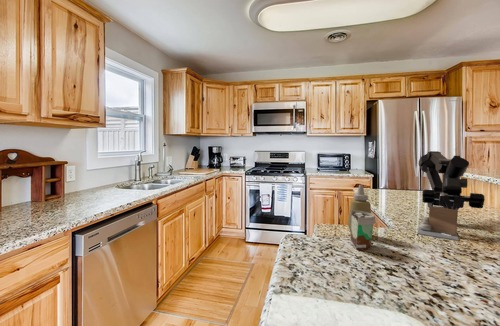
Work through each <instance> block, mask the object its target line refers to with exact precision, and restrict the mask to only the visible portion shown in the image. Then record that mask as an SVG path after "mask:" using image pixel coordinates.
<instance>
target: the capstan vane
mask: <svg viewBox="0 0 500 326" xmlns="http://www.w3.org/2000/svg"><path fill="white" fill-rule="evenodd" d="M428 209H429V210H428V211H429V212H428V217H427V216H424V217H423V222H419V226H420V229H423V230H434V231H439V232H444V233H449V234H453V235H456V234H457V233H458V218H459V217H458V215H459V213H458V212H459V209H458V210H453V209H446V208H439V207H432V206H430V207H428ZM457 235H458V234H457Z"/></svg>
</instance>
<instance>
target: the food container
mask: <svg viewBox="0 0 500 326" xmlns="http://www.w3.org/2000/svg"><path fill="white" fill-rule="evenodd" d="M375 224H376V217H375V215H374V214H373V213H372V212H371V213H367V212H363V211H356V210H351V233H350V242H351V243H352V245H353V247H354V249H355V250H356V251H368V250H371V246H372V240H373V239H372V238H373V237H372V236H373V229H374V225H375Z"/></svg>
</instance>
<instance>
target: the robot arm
mask: <svg viewBox="0 0 500 326" xmlns="http://www.w3.org/2000/svg"><path fill="white" fill-rule="evenodd" d="M469 165H470V162H469V161H468V160H467V159H465V158H464V157H461V155H453V157H452V158H450V159H448V158H447V157H446V156H444V155H443V154H442V152H441V151H439V150H438V151H435V150H432V151H431V150H430V151H427V152H426V154H423V155H422V156H421V157H420V158H419V160H418V167H419V168H420V170H421V171H422V172H424V173H426V176H427V179H428V182H429V184H430V188H431V189H426V188H425V189H423V190H422V203H424V204H427V207H428V208H429V207H430V206H432V207H439V208H446V209H453V210H458V211H459V209H462V208H463V209H464V204H465V202H467V203H468V206H469V207H470V208H472V209H473V208H474V209H483V208H484V203H485V201H486V199H485V194H483V193H475V192H470V193H469V195H462V191H463V190H462V188H463V189H465V188H468V178H464V177H463V176H464V175H465V173H466V171H467V169H468V167H469ZM440 174H442V179H441V176H440ZM462 177H463V178H462Z"/></svg>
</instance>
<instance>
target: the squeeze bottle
mask: <svg viewBox="0 0 500 326" xmlns="http://www.w3.org/2000/svg"><path fill="white" fill-rule="evenodd" d="M368 198H369V196H368V195H367V194H365V190H364V185H363V184H359V185H358V190H357V192H356V194H353V200H350V206H349V211H348V218H347V227H348V229H349V232H350V234H351V210H356V211H363V212H367V213H371V214H372V208H371V202H370V201H368V200H369V199H368Z"/></svg>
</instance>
